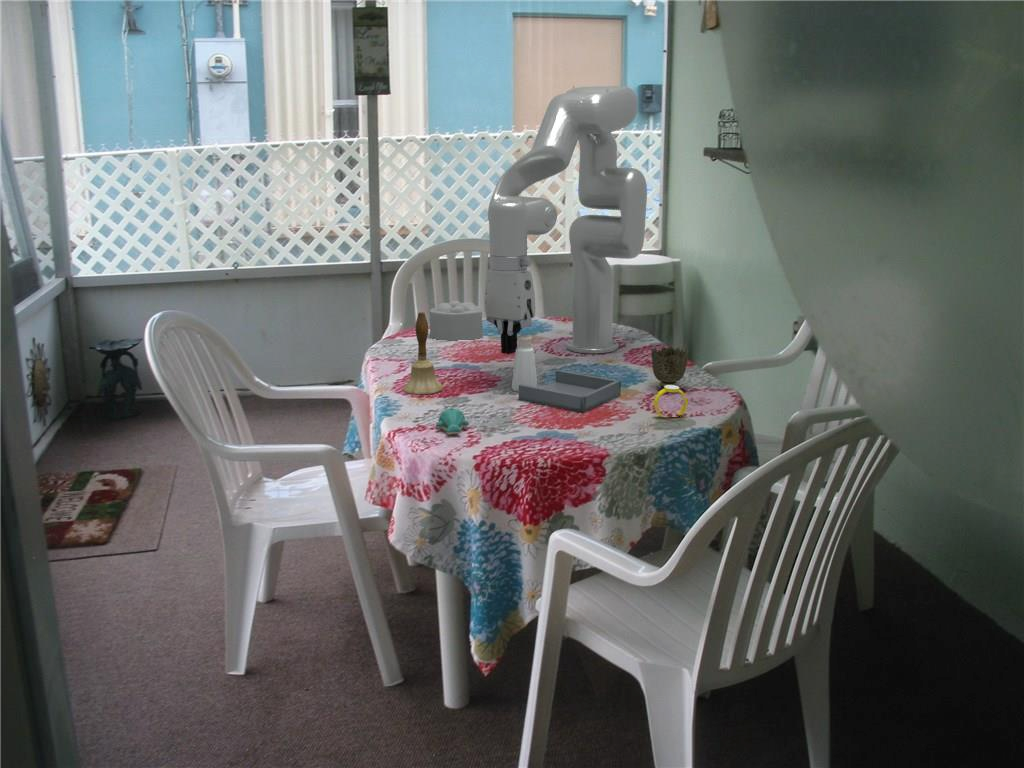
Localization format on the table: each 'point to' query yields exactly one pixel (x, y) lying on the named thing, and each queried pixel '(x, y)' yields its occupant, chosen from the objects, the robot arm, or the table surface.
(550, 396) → the tray
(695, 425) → the table surface
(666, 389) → the watch
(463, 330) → the lumpy-topped squat cylinder
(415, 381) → the hand bell
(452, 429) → the whale figurine
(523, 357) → the pepper shaker
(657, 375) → the cup
